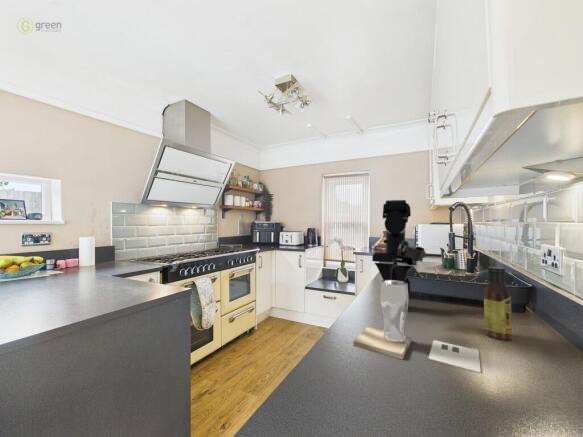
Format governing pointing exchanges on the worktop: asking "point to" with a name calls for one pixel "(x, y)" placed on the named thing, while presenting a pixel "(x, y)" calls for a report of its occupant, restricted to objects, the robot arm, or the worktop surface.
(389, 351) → the birch board
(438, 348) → the card
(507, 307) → the sauce bottle
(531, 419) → the worktop surface
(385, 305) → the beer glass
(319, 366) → the worktop surface
